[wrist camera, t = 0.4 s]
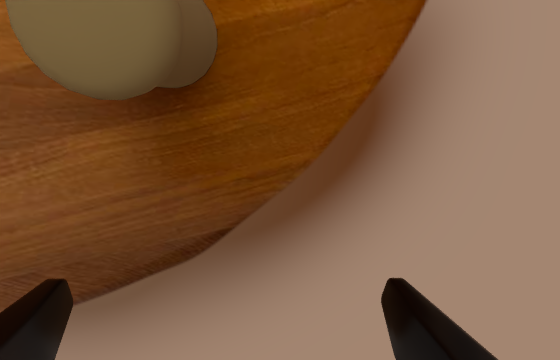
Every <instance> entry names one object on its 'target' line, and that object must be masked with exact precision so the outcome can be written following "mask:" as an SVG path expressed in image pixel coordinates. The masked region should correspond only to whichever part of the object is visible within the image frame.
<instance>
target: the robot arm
mask: <svg viewBox="0 0 560 360" xmlns="http://www.w3.org/2000/svg"><path fill="white" fill-rule="evenodd" d="M381 303H382V308H383V312H384V316H385V320H386V324H387V328H388V332H389V336H390V340H391V344H392V348H393V352H394V355H395V358H396V360H498V359H497V358H496V357H494V356H493V355H492V354H491V353H490V352H488V351H487V350H486V349H485V348H484V347H483V346H481V345H480V344H479V343H478V342H477V341H476V340H475V339H473V338H472V337H471V336H470V335H469V334H468V333H466V332H465V331H464V330H463V329H462V328H461V327H459V326H458V325H457V324H456V323H455V322H453V321H452V320H451V319H450V318H449V317H448V316H446V315H445V314H444V313H443V312H442V311H441V310H439V309H438V308H437V307H436V306H435V305H434V304H432V303H431V302H430V301H429V300H428V299H427V298H425V297H424V296H423V295H422V294H421V293H420V292H418V291H417V290H416V289H415V288H414V287H412V286H411V285H410V284H409V283H408V282H407V281H406V280H404V279H402V278H389V279H388V281H387V283H386V286H385V288H384V291H383V294H382V298H381ZM72 307H73V298H72V295H71V292H70V289H69V286H68V283H67V281H66V280H65V279H47V280H45V281H44V282H42V283H41V284H40V285H38V286H37V287H35V288H34V289H33V290H31V291H30V292H28V293H27V294H26V295H24V296H23V297H21V298H20V299H19V300H17V301H16V302H14V303H13V304H12V305H10V306H9V307H8V308H6V309H5V310H3V311H2V312H1V313H0V360H55V357H56V354H57V351H58V348H59V345H60V342H61V339H62V337H63V333H64V331H65V328H66V325H67V322H68V319H69V316H70V313H71V310H72Z"/></svg>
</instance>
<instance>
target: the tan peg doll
mask: <svg viewBox="0 0 560 360" xmlns="http://www.w3.org/2000/svg"><path fill="white" fill-rule="evenodd" d="M5 1H6V6H7V10H8V14H9V19H10V23H11V27H12V29H13V31H14V32H15V34H16V36H17V38H18V40H19V42H20V44H21V46H22V47H23V49H24V51H25V53H26V54H27V55H28V56H29V58H30V59H31V60H32V61H33V62H34V63H35V64H36V65H37V66H38V67H39V68H40V69H41V71H42V72H43V73H44V74H45V75H47V76H48V77H50V78H51V79H53V80H54V81H56V82H57V83H59V84H60V85H62V86H63V87H65V88H67V89H68V90H71V91H74V92H77V93H80V94H83V95H86V96H89V97H92V98H96V99H102V100H125V99H128V98H132V97H135V96H138V95H141V94H145V93H147V92H149V91H151V90H152V89H153V88H155V87H156V86H157V87H163V88H180V87H183V86H186V85H190V84H193V83H194V82H195V81H197V80H198V79H199V78H201V77H202V76H204V75H205V73H206V72H207V70H208V69H209V67H210V66H211V64H212V63H213V60H214V57H215V53H216V50H217V29H216V26H215V23H214V20H213V17H212V14H211V12H210V11H209V9H208V8H207V6H206V5H205V3H204V2H203V0H5Z"/></svg>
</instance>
